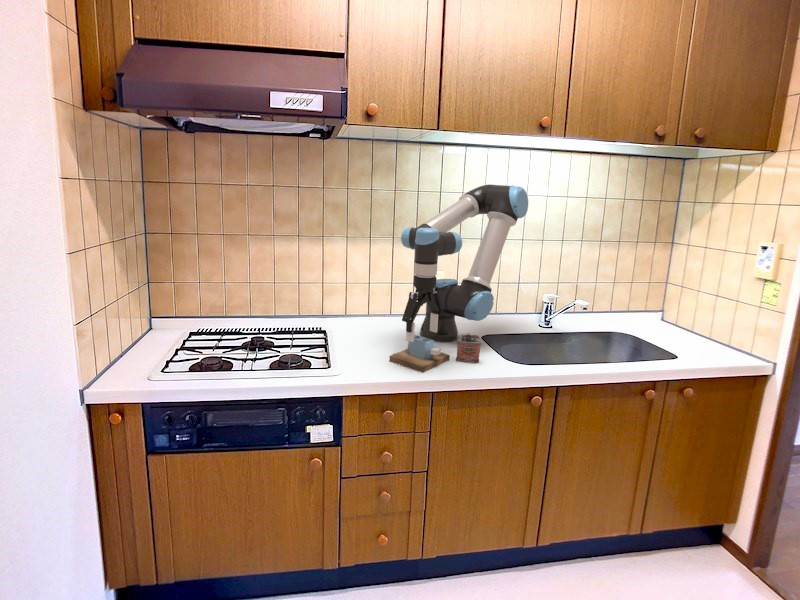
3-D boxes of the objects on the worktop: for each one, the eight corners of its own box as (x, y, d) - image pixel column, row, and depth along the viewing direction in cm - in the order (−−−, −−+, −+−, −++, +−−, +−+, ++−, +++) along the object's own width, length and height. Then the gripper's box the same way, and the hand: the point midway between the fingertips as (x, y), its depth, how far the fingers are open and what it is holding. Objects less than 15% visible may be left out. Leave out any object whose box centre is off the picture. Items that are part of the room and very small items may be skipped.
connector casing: (412, 350, 176) (412, 334, 175) (441, 359, 169) (442, 342, 167) (405, 353, 173) (406, 336, 172) (434, 362, 166) (435, 345, 164)
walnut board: (417, 350, 182) (417, 345, 182) (449, 360, 174) (449, 354, 174) (389, 361, 170) (389, 355, 170) (422, 372, 162) (422, 366, 161)
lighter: (455, 361, 173) (458, 334, 171) (456, 358, 176) (458, 331, 174) (479, 363, 172) (481, 336, 170) (479, 360, 175) (481, 333, 173)
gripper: (437, 268, 177) (433, 325, 182) (392, 279, 158) (390, 342, 163) (455, 271, 172) (451, 330, 178) (411, 283, 153) (408, 347, 159)
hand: (422, 336), depth 170 cm, fingers open, 13 cm apart
